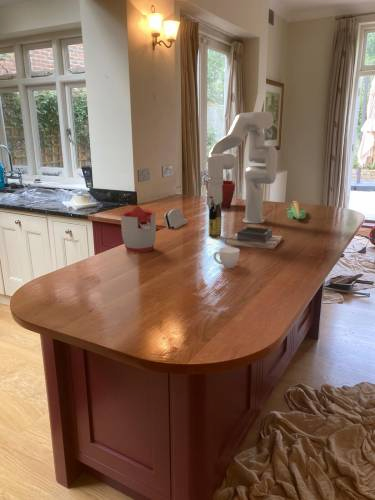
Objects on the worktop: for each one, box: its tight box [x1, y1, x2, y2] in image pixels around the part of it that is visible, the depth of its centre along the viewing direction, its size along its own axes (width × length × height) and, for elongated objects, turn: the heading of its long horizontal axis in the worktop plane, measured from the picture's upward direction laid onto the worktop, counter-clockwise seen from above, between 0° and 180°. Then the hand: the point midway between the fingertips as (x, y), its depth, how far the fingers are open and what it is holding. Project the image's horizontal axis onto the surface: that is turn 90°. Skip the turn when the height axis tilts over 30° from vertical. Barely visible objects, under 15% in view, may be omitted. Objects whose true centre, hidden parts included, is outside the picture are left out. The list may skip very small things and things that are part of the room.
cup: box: [213, 246, 241, 269], centre depth 157 cm, size 8×10×7 cm
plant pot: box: [205, 180, 236, 209], centre depth 278 cm, size 19×19×17 cm
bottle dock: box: [225, 225, 283, 250], centre depth 191 cm, size 18×22×6 cm
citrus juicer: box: [119, 205, 157, 254], centre depth 178 cm, size 16×17×20 cm
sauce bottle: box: [208, 204, 223, 238], centre depth 199 cm, size 6×6×20 cm
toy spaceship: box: [286, 200, 307, 220], centre depth 242 cm, size 32×10×7 cm, turn 170°
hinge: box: [163, 208, 188, 229], centre depth 227 cm, size 17×5×10 cm, turn 155°
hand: (215, 217), depth 199 cm, fingers closed on sauce bottle, 6 cm apart
